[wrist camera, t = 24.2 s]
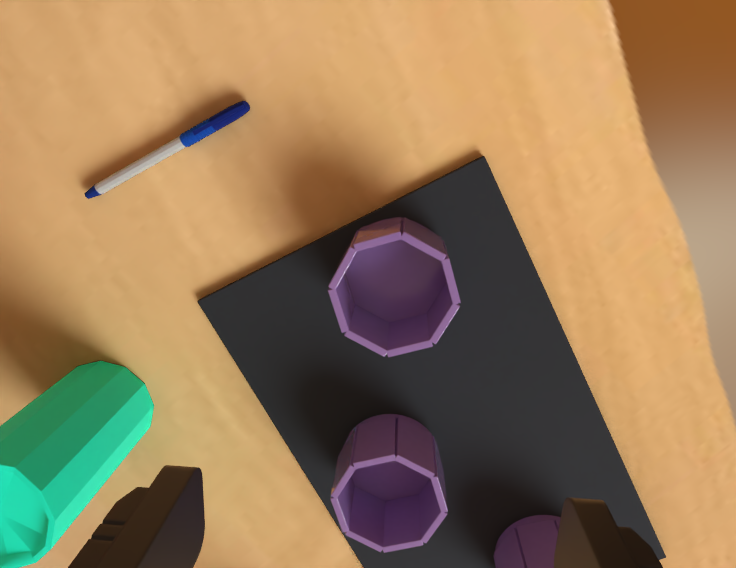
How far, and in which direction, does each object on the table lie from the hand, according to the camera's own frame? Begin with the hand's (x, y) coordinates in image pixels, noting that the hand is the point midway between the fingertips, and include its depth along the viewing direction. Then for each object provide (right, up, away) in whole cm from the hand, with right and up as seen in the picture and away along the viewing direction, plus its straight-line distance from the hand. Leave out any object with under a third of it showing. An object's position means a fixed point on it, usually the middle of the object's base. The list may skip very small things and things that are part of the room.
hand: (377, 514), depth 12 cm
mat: (+4, -4, +22) cm, 23 cm away
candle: (-17, -2, +23) cm, 29 cm away
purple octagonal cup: (+1, -6, +22) cm, 23 cm away
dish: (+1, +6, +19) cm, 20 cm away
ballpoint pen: (-11, +12, +18) cm, 25 cm away
